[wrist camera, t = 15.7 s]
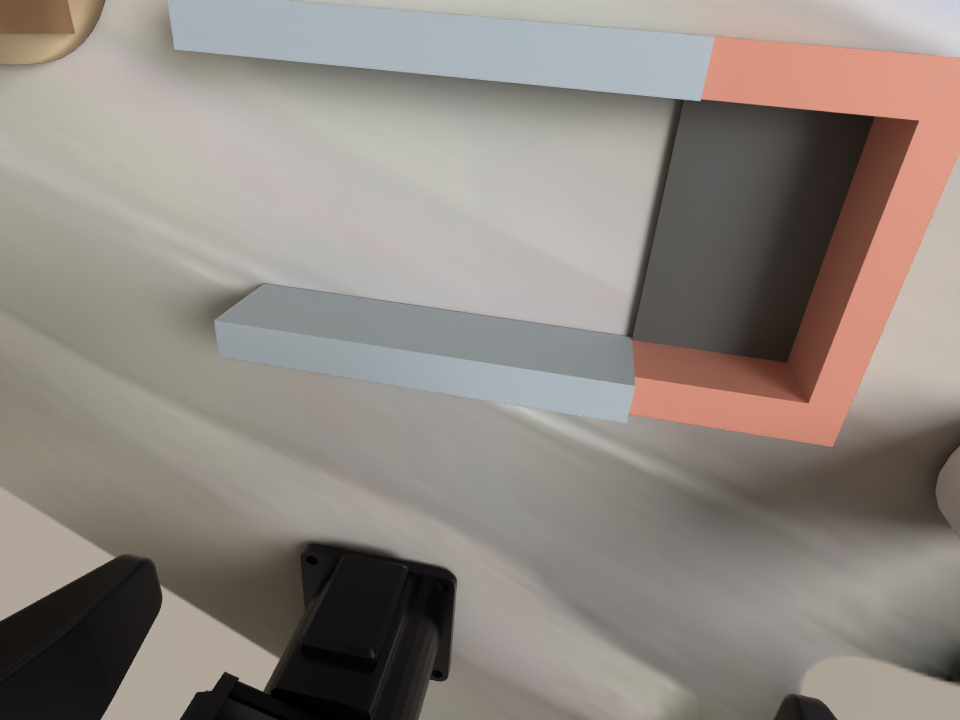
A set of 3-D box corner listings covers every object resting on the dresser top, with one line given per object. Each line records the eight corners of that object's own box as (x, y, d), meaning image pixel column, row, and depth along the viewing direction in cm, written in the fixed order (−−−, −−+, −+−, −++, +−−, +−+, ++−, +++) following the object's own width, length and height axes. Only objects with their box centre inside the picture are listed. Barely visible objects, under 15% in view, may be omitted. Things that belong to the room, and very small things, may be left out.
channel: (624, 371, 20) (626, 423, 17) (267, 316, 21) (219, 356, 18) (696, 35, 15) (714, 36, 12) (235, -4, 17) (166, -10, 14)
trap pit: (807, 399, 19) (832, 446, 17) (624, 371, 20) (626, 413, 17) (940, 56, 14) (998, 61, 12) (696, 35, 15) (711, 37, 13)
